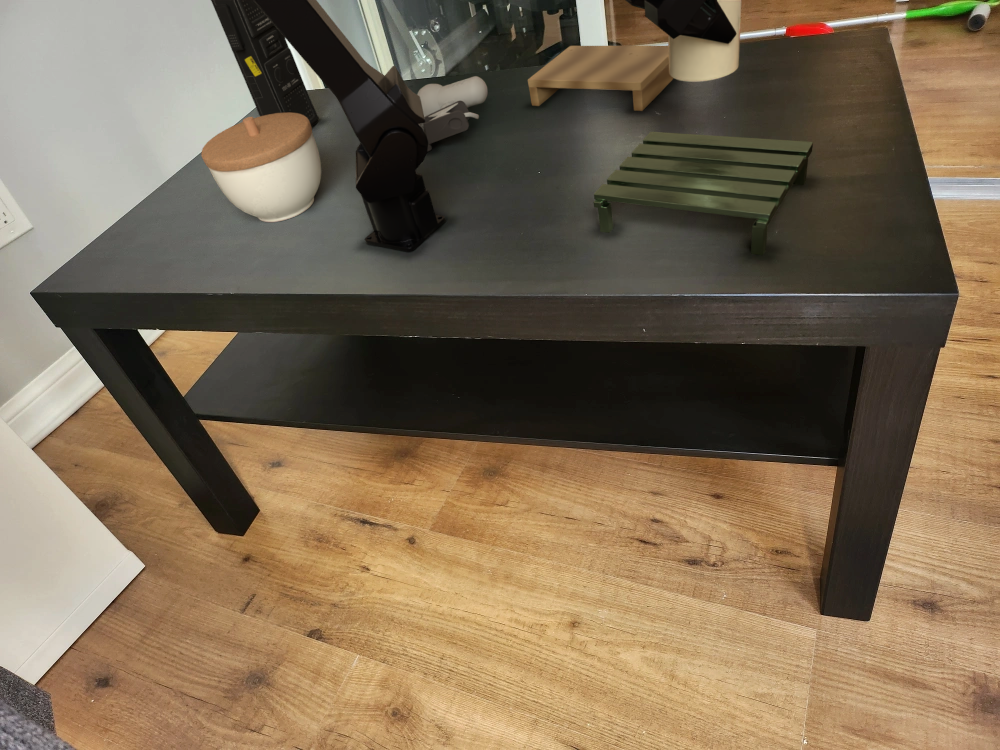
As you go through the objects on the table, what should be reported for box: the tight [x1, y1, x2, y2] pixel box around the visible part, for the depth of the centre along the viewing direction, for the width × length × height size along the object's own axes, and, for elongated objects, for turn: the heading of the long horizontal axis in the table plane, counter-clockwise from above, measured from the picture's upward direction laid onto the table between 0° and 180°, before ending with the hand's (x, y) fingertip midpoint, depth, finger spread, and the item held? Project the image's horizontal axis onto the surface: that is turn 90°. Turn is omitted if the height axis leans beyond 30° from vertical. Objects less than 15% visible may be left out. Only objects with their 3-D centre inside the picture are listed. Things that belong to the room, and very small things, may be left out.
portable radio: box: [210, 0, 320, 127], centre depth 97 cm, size 8×6×25 cm
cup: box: [667, 0, 742, 83], centre depth 67 cm, size 7×7×8 cm
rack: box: [592, 131, 814, 256], centre depth 67 cm, size 16×14×4 cm
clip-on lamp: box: [416, 75, 489, 152], centre depth 93 cm, size 12×6×18 cm
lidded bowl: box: [200, 113, 322, 223], centre depth 82 cm, size 13×13×11 cm
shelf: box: [527, 45, 675, 112], centre depth 93 cm, size 16×12×4 cm
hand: (717, 28), depth 67 cm, fingers closed on cup, 6 cm apart
